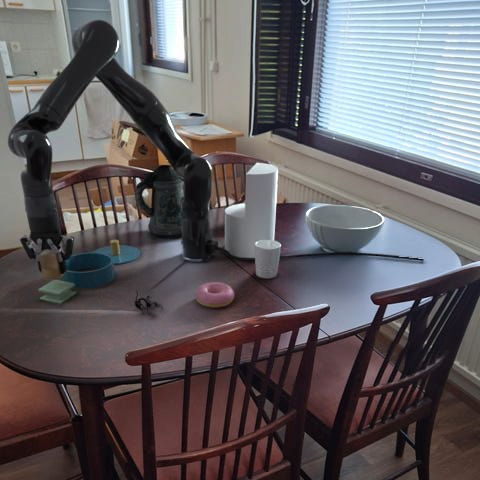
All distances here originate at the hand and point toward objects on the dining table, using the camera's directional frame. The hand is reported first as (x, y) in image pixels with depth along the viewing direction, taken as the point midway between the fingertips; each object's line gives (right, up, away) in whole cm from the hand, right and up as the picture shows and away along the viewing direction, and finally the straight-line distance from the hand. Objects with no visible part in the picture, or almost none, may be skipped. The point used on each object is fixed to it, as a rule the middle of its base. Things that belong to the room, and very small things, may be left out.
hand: (53, 272), depth 130 cm
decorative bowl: (+87, +12, +40) cm, 97 cm away
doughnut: (+44, -8, +4) cm, 45 cm away
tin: (+5, 0, +15) cm, 16 cm away
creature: (+27, -11, -2) cm, 29 cm away
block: (0, -1, +1) cm, 1 cm away
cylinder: (+54, +12, +38) cm, 68 cm away
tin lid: (+9, +9, +30) cm, 32 cm away
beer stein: (+24, +19, +50) cm, 58 cm away
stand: (0, -7, +4) cm, 8 cm away
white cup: (+59, +1, +20) cm, 63 cm away
